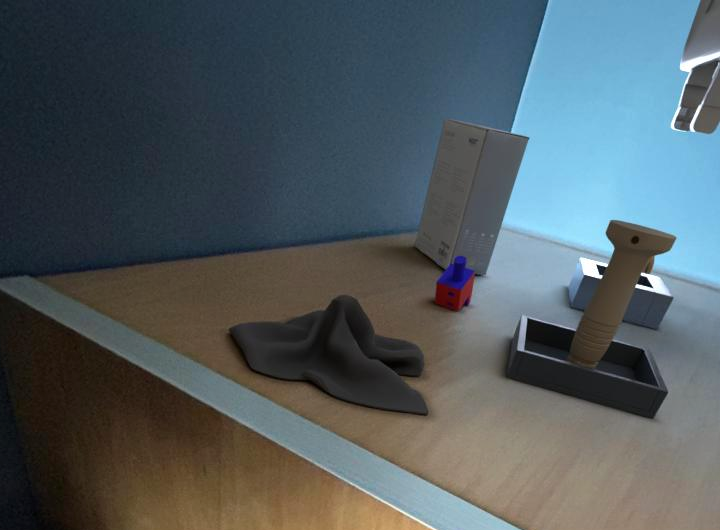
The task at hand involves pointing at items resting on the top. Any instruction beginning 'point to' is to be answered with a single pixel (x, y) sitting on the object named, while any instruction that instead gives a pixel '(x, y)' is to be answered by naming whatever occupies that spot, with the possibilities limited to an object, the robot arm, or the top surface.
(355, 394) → the cloth
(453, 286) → the toy building block
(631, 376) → the basin
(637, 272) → the handle
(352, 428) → the top surface
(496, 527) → the top surface
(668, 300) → the block
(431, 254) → the hard drive box
